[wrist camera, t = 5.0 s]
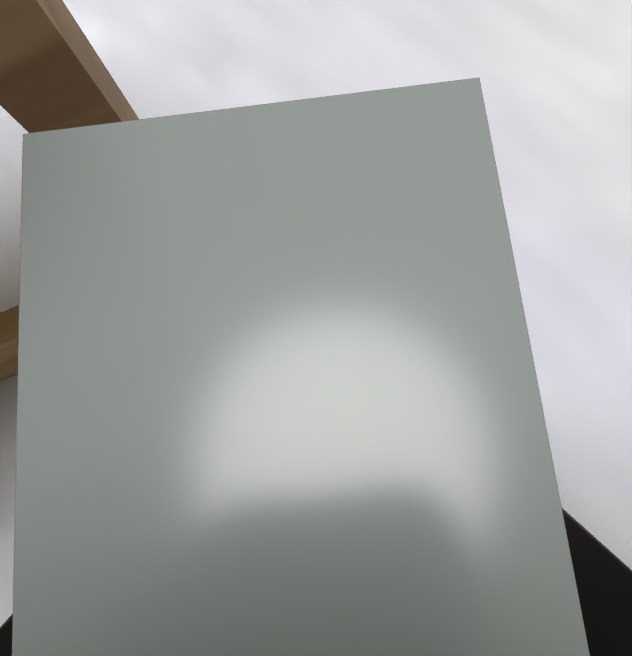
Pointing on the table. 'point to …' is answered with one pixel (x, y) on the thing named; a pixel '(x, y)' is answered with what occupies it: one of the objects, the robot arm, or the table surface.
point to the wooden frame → (49, 95)
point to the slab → (281, 390)
